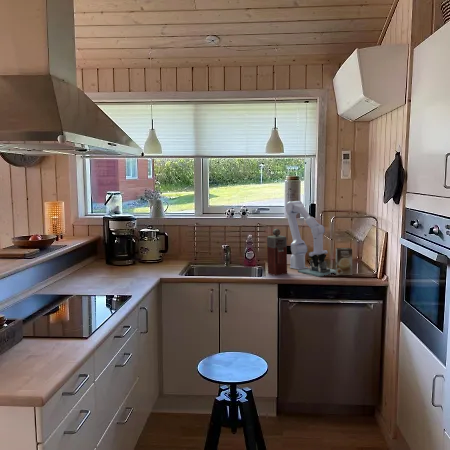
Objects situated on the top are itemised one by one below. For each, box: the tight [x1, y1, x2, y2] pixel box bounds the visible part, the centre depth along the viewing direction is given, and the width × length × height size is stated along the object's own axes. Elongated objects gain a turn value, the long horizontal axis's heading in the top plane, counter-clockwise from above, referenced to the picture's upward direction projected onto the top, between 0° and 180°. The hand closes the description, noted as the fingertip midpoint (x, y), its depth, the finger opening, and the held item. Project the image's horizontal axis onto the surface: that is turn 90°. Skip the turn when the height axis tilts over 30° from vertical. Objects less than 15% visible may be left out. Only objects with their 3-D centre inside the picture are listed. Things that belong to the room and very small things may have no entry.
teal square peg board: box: [297, 265, 336, 277], centre depth 280 cm, size 18×18×4 cm
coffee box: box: [335, 247, 353, 276], centre depth 270 cm, size 9×6×16 cm
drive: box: [309, 259, 328, 272], centre depth 280 cm, size 10×4×6 cm, turn 34°
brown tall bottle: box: [266, 228, 288, 276], centre depth 279 cm, size 9×11×28 cm
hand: (318, 266), depth 280 cm, fingers closed on drive, 4 cm apart
